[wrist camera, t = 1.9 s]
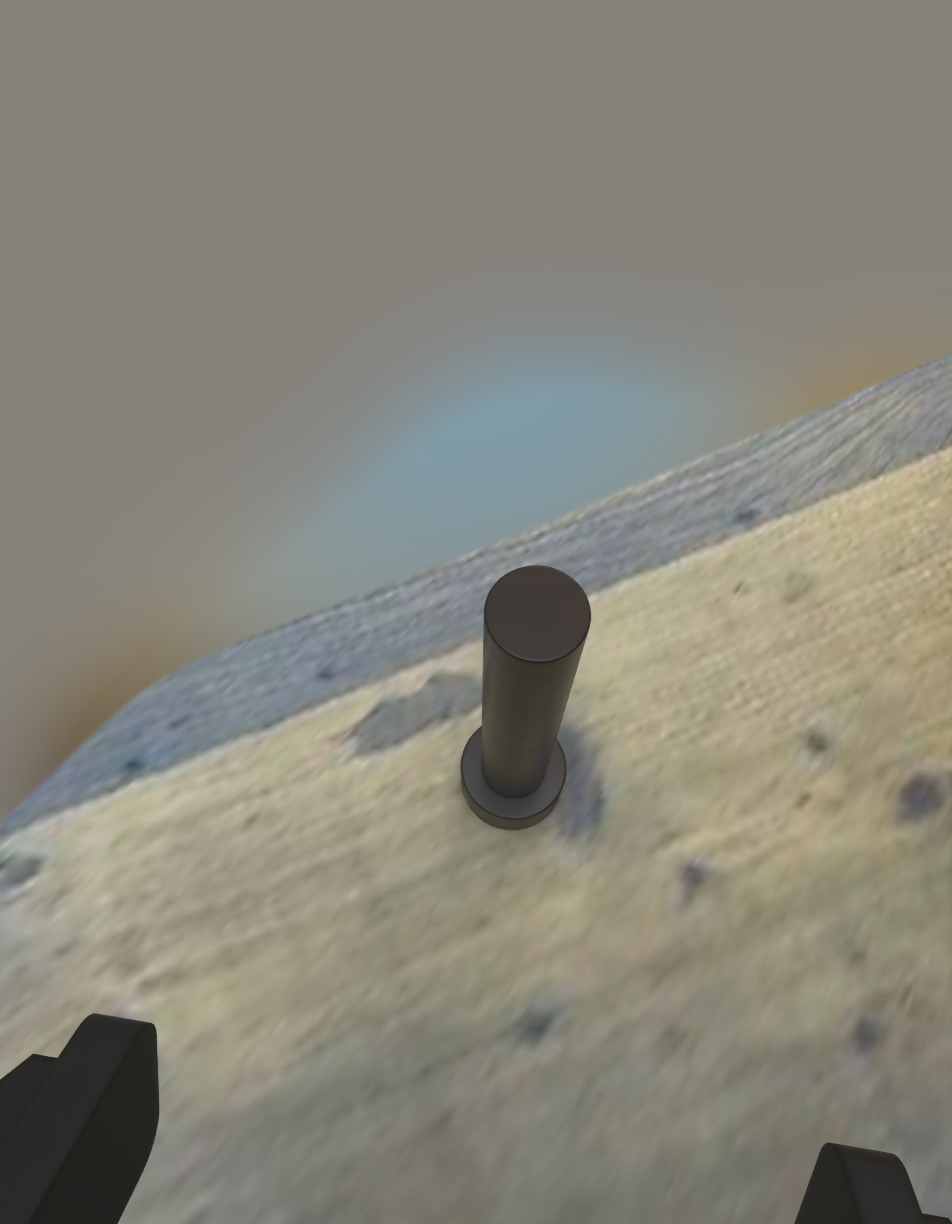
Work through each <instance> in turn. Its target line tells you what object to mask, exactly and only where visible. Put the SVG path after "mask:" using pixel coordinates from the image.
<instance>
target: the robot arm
mask: <svg viewBox="0 0 952 1224" xmlns="http://www.w3.org/2000/svg"><path fill="white" fill-rule="evenodd" d="M158 1120H159V1085H158V1058H157V1034H156V1028H155V1026H154V1024H152V1023H148V1022H143V1021H137V1020H131V1019H125V1018H119V1017H114V1016H108V1015H102V1014H96V1013H94V1014H91V1015H89V1016H88V1017H86V1018H85V1019H84V1021H83V1022H82V1023H81V1024H80V1026H79V1027H78V1028H77V1030H76V1031H75V1033H74V1034H73V1036H72V1037H71V1039H70V1040H69V1042H68V1043H67V1045H66V1046H65V1048H64V1049H63V1051H62V1052H61V1054H60V1055H59V1057H58V1058H54V1057H48V1056H43V1055H37V1054H32V1055H31V1056H30V1057H29V1058H27V1059H26V1060H25V1061H23V1062H22V1063H21V1064H20V1065H18V1066H17V1067H16V1068H15V1069H13V1070H12V1071H11V1072H9V1073H8V1074H7V1075H6V1076H4V1077H3V1078H2V1079H1V1080H0V1224H118V1222H119V1220H120V1218H121V1216H122V1213H123V1211H124V1209H125V1207H126V1205H127V1203H128V1201H129V1199H130V1197H131V1195H132V1193H133V1191H134V1189H135V1187H136V1185H137V1183H138V1181H139V1179H140V1176H141V1174H142V1172H143V1170H144V1168H145V1166H146V1163H147V1161H148V1158H149V1155H150V1152H151V1150H152V1146H153V1143H154V1139H155V1135H156V1131H157V1126H158ZM795 1224H952V1222H951V1221H950V1220H949V1218H945V1217H939V1216H933V1215H928V1214H922V1212H921V1209H920V1206H919V1204H918V1201H917V1198H916V1196H915V1193H914V1190H913V1187H912V1185H911V1182H910V1179H909V1176H908V1174H907V1171H906V1169H905V1167H904V1165H903V1163H902V1162H901V1160H900V1159H899V1158H898V1157H897V1156H896V1155H894V1154H892V1153H886V1152H881V1151H875V1150H869V1149H863V1148H857V1147H852V1146H846V1145H840V1144H834V1143H826V1144H825V1145H824V1146H823V1147H822V1149H821V1151H820V1153H819V1156H818V1159H817V1162H816V1164H815V1167H814V1170H813V1173H812V1176H811V1178H810V1181H809V1184H808V1187H807V1190H806V1193H805V1195H804V1198H803V1201H802V1204H801V1207H800V1209H799V1212H798V1215H797V1218H796V1221H795Z"/></svg>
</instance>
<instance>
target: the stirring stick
mask: <svg viewBox="0 0 952 1224" xmlns="http://www.w3.org/2000/svg"><path fill="white" fill-rule="evenodd" d="M590 622H591V610H590V605H589V601H588V599H587V596H586V594H585V593H584V591H583V589H582V588H581V587H580V585H579V584H578V583H577V582H576V581H575V580H574V579H572V578H571V577H570V576H569V575H567V574H565V573H564V572H562V571H559V570H557V569H554V568H551V567H546V566H526V567H521V568H518V569H515V570H513V571H511V572H509V573H507V574H506V575H504V576H503V577H502V578H500V579H499V580H498V581H497V582H496V583H495V584H494V586H493V587H492V588H491V590H490V592H489V594H488V596H487V599H486V602H485V606H484V638H483V696H482V726H481V727H480V728H479V729H477V730H476V731H475V732H474V734H473V735H472V736H471V737H470V739H469V740H468V742H467V744H466V746H465V748H464V751H463V754H462V759H461V779H462V788H463V793H464V796H465V799H466V801H467V803H468V805H469V806H470V808H471V809H472V810H473V812H474V813H475V814H476V815H477V816H478V817H479V818H480V819H482V820H483V821H484V822H486V823H488V824H490V825H492V826H494V827H497V828H501V829H506V830H519V829H524V828H528V827H531V826H533V825H535V824H537V823H538V822H540V821H542V820H543V819H544V818H545V817H546V816H547V815H548V814H549V813H550V812H551V811H552V809H553V808H554V806H555V805H556V803H557V801H558V798H559V796H560V793H561V791H562V788H563V785H564V782H565V778H566V760H565V755H564V752H563V750H562V747H561V745H560V743H559V742H558V740H557V739H556V737H557V734H558V730H559V727H560V724H561V720H562V717H563V714H564V710H565V707H566V704H567V700H568V697H569V694H570V690H571V687H572V684H573V681H574V677H575V674H576V671H577V667H578V664H579V661H580V657H581V654H582V651H583V647H584V644H585V641H586V637H587V634H588V631H589V628H590Z"/></svg>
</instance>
